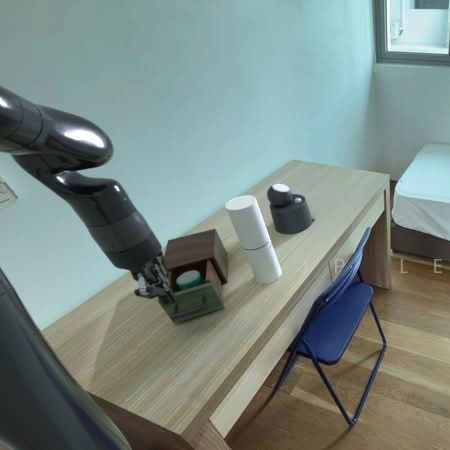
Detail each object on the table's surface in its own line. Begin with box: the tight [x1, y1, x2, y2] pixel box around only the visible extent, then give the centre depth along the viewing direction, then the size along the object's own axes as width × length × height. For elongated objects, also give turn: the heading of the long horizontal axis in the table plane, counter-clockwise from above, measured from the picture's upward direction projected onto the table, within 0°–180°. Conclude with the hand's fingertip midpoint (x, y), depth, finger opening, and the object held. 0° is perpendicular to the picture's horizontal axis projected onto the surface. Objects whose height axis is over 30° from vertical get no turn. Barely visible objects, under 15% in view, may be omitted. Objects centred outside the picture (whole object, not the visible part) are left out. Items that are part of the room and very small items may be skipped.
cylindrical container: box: [224, 194, 283, 285], centre depth 83 cm, size 7×7×25 cm
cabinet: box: [163, 228, 228, 285], centre depth 89 cm, size 15×13×10 cm
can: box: [176, 270, 205, 291], centre depth 80 cm, size 5×5×7 cm
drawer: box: [157, 259, 225, 324], centre depth 79 cm, size 18×11×8 cm, turn 25°
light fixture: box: [266, 183, 316, 235], centre depth 108 cm, size 13×16×14 cm
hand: (170, 301), depth 65 cm, fingers closed
